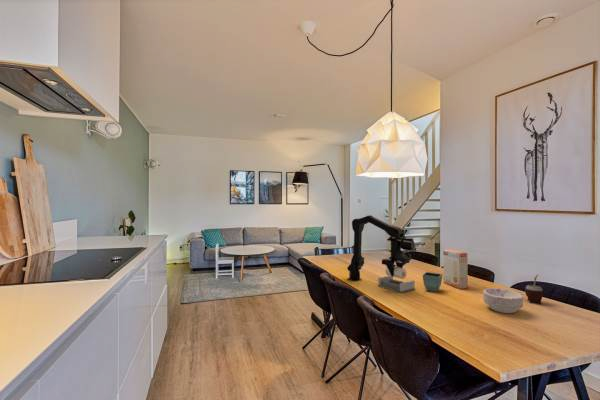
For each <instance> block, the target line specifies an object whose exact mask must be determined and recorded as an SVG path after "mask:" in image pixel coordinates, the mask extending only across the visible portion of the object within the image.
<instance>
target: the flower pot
mask: <svg viewBox="0 0 600 400" xmlns="http://www.w3.org/2000/svg"><path fill="white" fill-rule="evenodd" d="M442 281H443V273H435V272H429V271H425V272H424V273H423V274H422V282H423V285H424V287H425V289H426V291H430V292H438V291H439V289H440V288H441V285H442Z"/></svg>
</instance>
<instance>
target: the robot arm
mask: <svg viewBox="0 0 600 400" xmlns="http://www.w3.org/2000/svg"><path fill="white" fill-rule="evenodd" d="M368 223H370V224H371V225H373V226H375V227H377V228H379V229H381V230H383V231H385V234H387V235H388V236H389V237H388V238H387V239H386V241H388V242H390V249H389V250H388V252H389V253H390V256H389V257H388V258H383V259H381V264H382V265H384V266H386V268H388V270H389V272H390V274H391V276H393V275H394V267H400V268H404V266H405V265H406V264H409V263H410V261H412V255H411V254H410V253H406V254H404V251H403V250H405V251H406V250H407V251H414V250H415V248H416V244H415V241H414V238H411V237H410V238H407V237H406V235H405V234H404V233H403V230H402V228H401V227H398V226H395V225H391V224H388V223H387V222H385V221H382V220H381V219H379V218H376V217H374V216H373V215H370V214H369V215H366V216H364V217H361V218H359V217H358V218H354V219H352V220H351V227H352V228H351V229H352V231H353V253H352V257H351V259H350V260H351V261H350V264H349V265H348V266H347V267H346V269H347V271H349V274H348V275H349V277H348V278H347V280H350V281H352V282H358V281H362V278H361V272H360V270H362V268H363V266H364V265H365V257H364V256H362V255H363V254H362V241H363V240H362V238H363V237H362V236H363V231H364V228H365V225H366V224H368Z"/></svg>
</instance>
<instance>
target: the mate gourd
mask: <svg viewBox="0 0 600 400" xmlns="http://www.w3.org/2000/svg"><path fill="white" fill-rule="evenodd" d="M538 276H539V274H536V275H535V277H534V279H533V280H534V281H533V284H527V285H526V287H525V289H524V291H525V292H524V293H525V295H526V297H527V301H528V302H529V304H538V305H542V303H541V302H542V300H543V296H544V289H543V288H542V287H541V286H539V285H536V282H537V277H538Z"/></svg>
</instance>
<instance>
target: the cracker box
mask: <svg viewBox="0 0 600 400" xmlns="http://www.w3.org/2000/svg"><path fill="white" fill-rule="evenodd" d="M442 253H443V283H444V284H446V285H448V286H451V287H453V288H456V289H459V290H464V289H466V290H467V289H468V283H469V282H468V275H469V274H468V253H467V252H465V251H459V250H456V249H455V250H454V249H451V248H450V249H443V252H442Z"/></svg>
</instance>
